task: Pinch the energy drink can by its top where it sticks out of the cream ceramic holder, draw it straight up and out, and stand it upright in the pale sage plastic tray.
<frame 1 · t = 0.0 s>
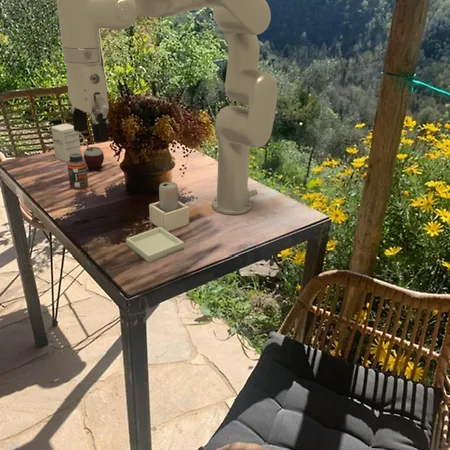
hand: (90, 135, 103), 31 cm above the table, tool pointing down, fingers open, 9 cm apart
energy drink: (169, 223, 133), resting in can holder
supplement box: (68, 158, 178), on the table
can holder: (169, 222, 133), on the table
mate gourd: (93, 170, 168), on the table
supplement bottle: (79, 187, 154), on the table
tray: (155, 246, 121), on the table
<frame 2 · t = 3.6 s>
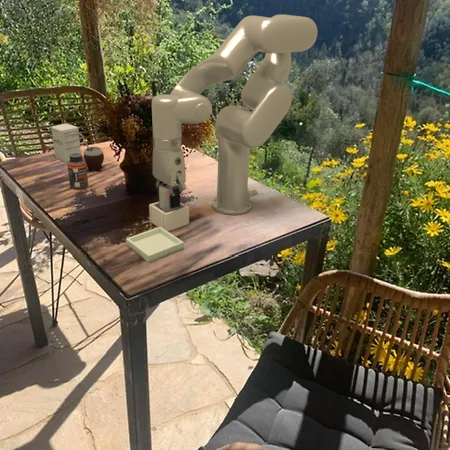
hand: (168, 202, 130), 6 cm above the table, tool pointing down, fingers closed on energy drink, 5 cm apart
energy drink: (169, 223, 133), resting in can holder, touching gripper
everything else where it was.
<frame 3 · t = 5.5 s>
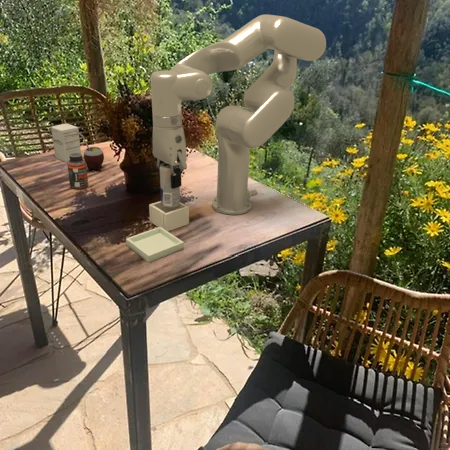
hand: (169, 183, 128), 12 cm above the table, tool pointing down, fingers closed on energy drink, 5 cm apart
energy drink: (170, 204, 131), point 6 cm above the table, touching gripper
everything else where it was.
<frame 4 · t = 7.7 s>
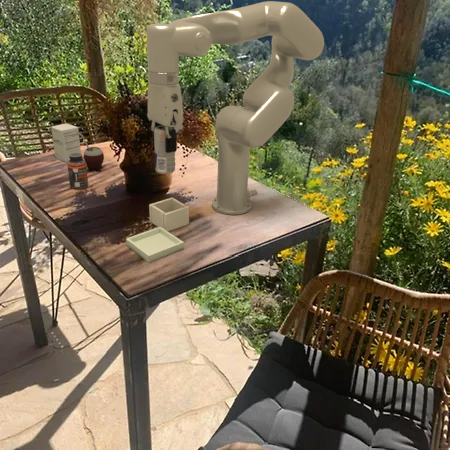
hand: (164, 147, 120), 24 cm above the table, tool pointing down, fingers closed on energy drink, 5 cm apart
energy drink: (165, 171, 124), point 17 cm above the table, touching gripper
everything else where it was.
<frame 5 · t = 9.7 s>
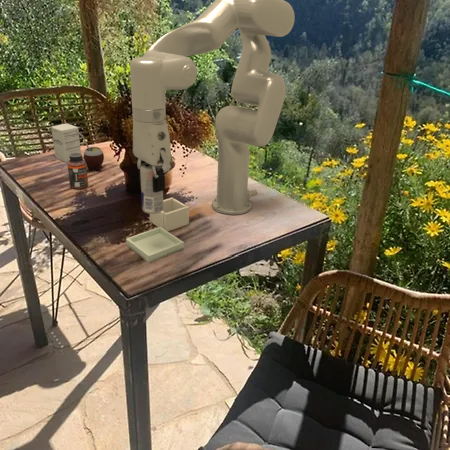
hand: (152, 186, 112), 18 cm above the table, tool pointing down, fingers closed on energy drink, 5 cm apart
energy drink: (152, 210, 116), point 11 cm above the table, touching gripper
everything else where it was.
when the fingers open (8 cm above the table, at t = 11.7 s): energy drink drops 1 cm, resting on tray.
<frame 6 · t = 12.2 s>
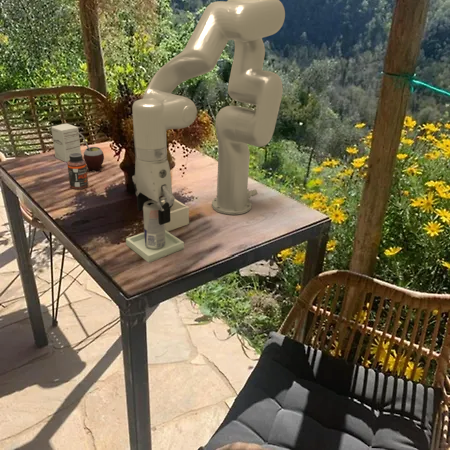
hand: (153, 216, 117), 9 cm above the table, tool pointing down, fingers open, 9 cm apart
energy drink: (155, 245, 121), resting on tray
everything else where it was.
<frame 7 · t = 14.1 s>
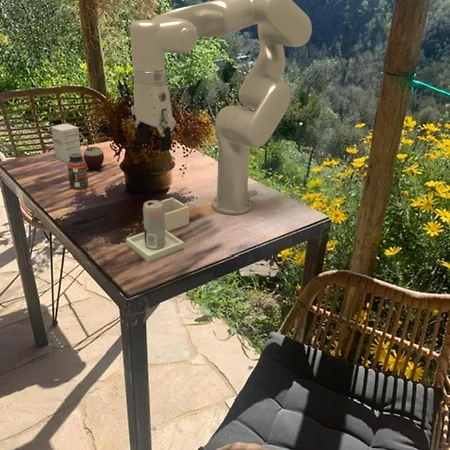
hand: (154, 145, 116), 25 cm above the table, tool pointing down, fingers open, 9 cm apart
nothing on the table moved.
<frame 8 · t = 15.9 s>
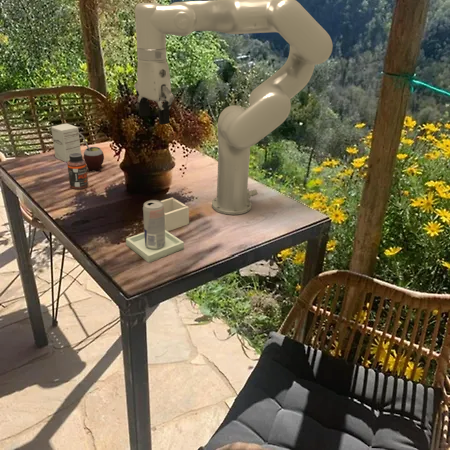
hand: (154, 119, 127), 28 cm above the table, tool pointing down, fingers open, 9 cm apart
nothing on the table moved.
at the end: energy drink 0.1 cm off-centre on the tray, point 0.4 cm above the tray's base; energy drink tilted 0°; the gripper is holding nothing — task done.
